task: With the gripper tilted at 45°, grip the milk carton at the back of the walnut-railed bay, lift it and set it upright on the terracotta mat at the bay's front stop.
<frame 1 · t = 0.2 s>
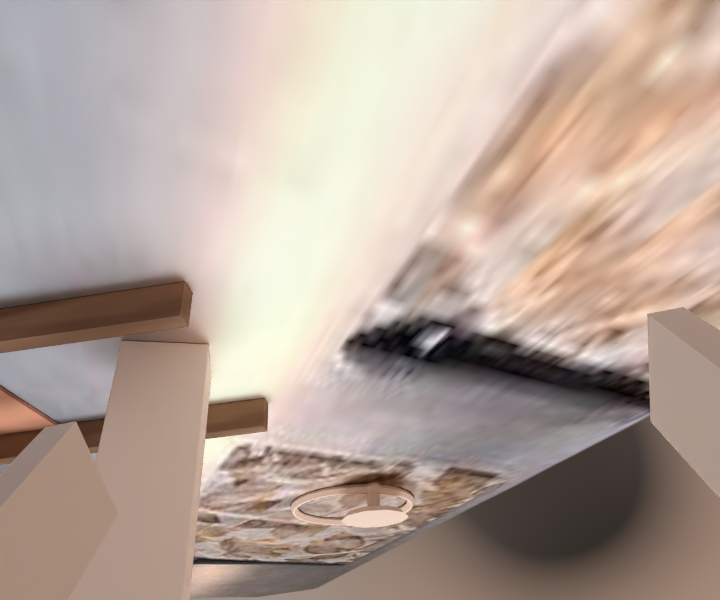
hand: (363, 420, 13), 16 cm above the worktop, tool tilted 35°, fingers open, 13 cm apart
milk: (169, 360, 41), on the worktop
bay: (31, 381, 42), on the worktop
hand towel holder: (356, 495, 74), on the worktop
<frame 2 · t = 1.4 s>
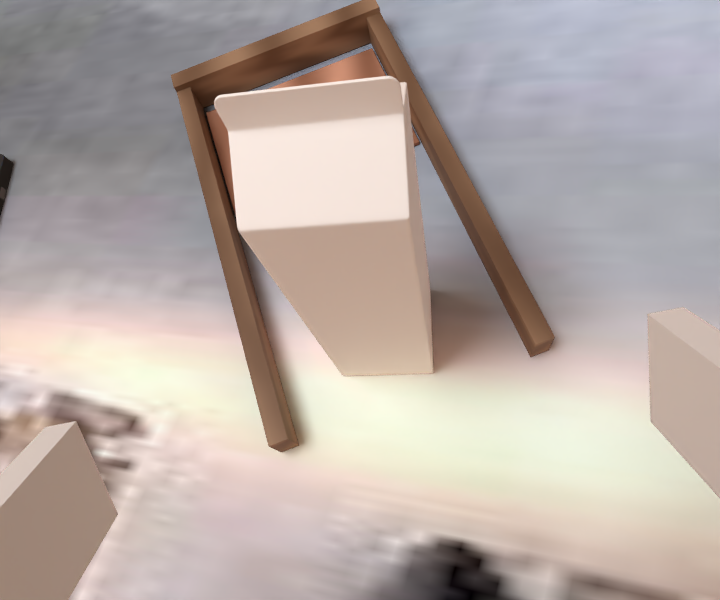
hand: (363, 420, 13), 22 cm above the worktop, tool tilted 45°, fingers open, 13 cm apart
milk: (387, 333, 37), on the worktop
bay: (337, 204, 41), on the worktop
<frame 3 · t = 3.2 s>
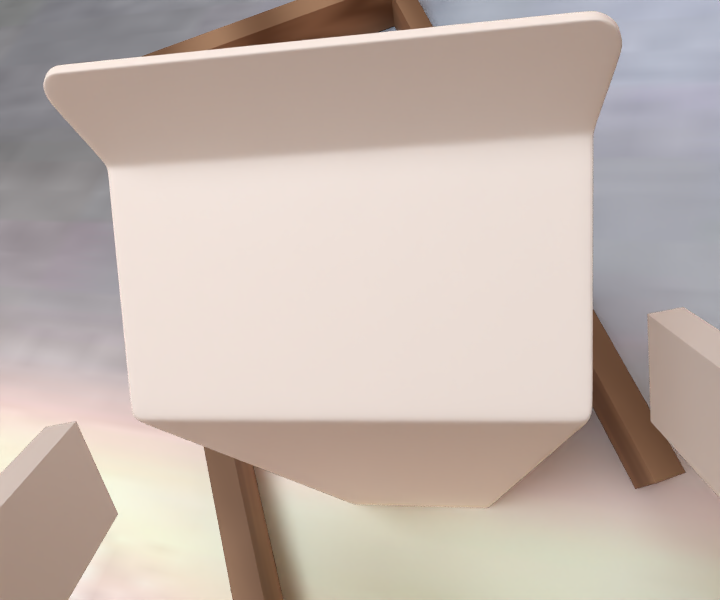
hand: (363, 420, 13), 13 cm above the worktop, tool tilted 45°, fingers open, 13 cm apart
milk: (419, 438, 25), on the worktop
bay: (348, 244, 30), on the worktop
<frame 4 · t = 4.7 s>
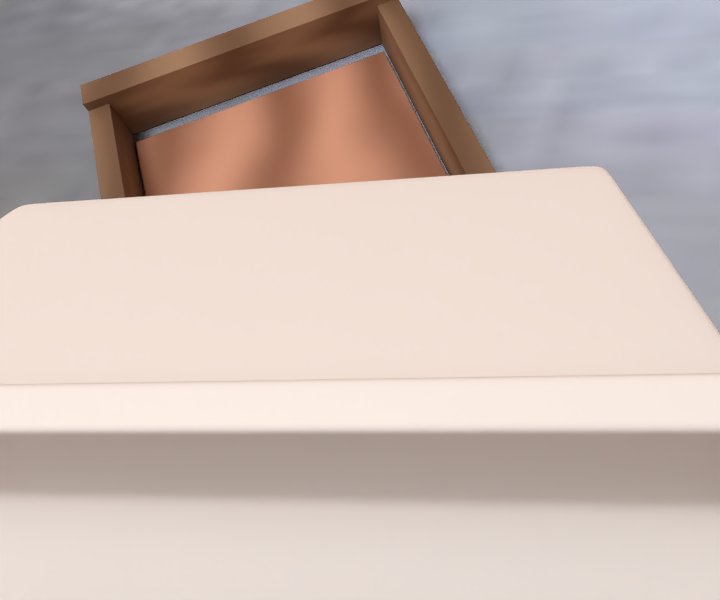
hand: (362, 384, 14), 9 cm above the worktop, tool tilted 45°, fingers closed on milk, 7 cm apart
milk: (410, 536, 21), on the worktop, touching gripper
bay: (328, 297, 26), on the worktop
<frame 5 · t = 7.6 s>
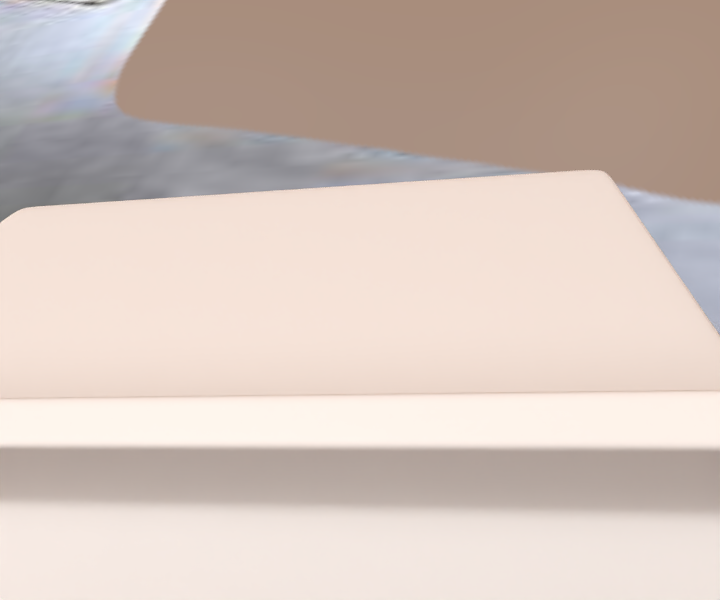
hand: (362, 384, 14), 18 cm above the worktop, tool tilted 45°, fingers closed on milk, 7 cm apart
milk: (410, 537, 21), point 9 cm above the worktop, touching gripper
when the fingers open (11 cm above the worktop, at t = 10.3 s): milk drops 1 cm, resting on bay.
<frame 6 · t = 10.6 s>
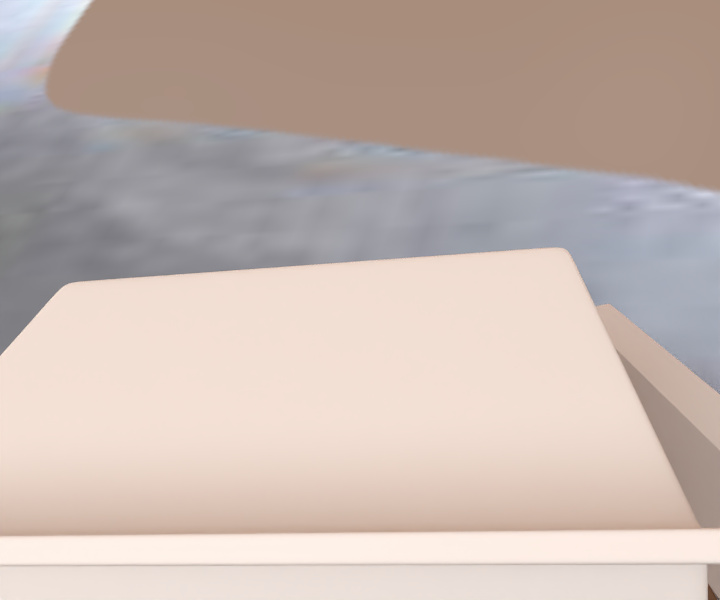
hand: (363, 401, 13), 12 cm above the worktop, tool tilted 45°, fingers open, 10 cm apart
milk: (408, 540, 22), resting on bay
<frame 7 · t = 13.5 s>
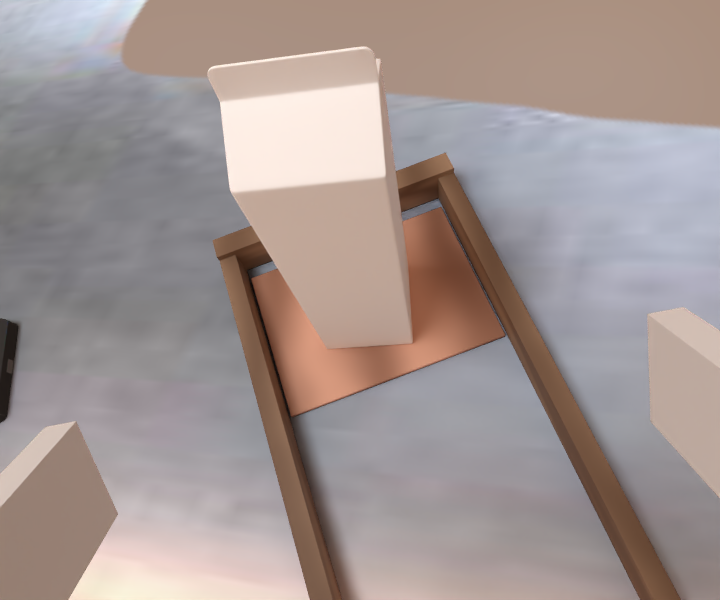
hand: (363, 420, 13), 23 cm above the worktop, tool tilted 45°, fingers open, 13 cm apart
milk: (368, 308, 39), resting on bay
bay: (412, 411, 35), on the worktop
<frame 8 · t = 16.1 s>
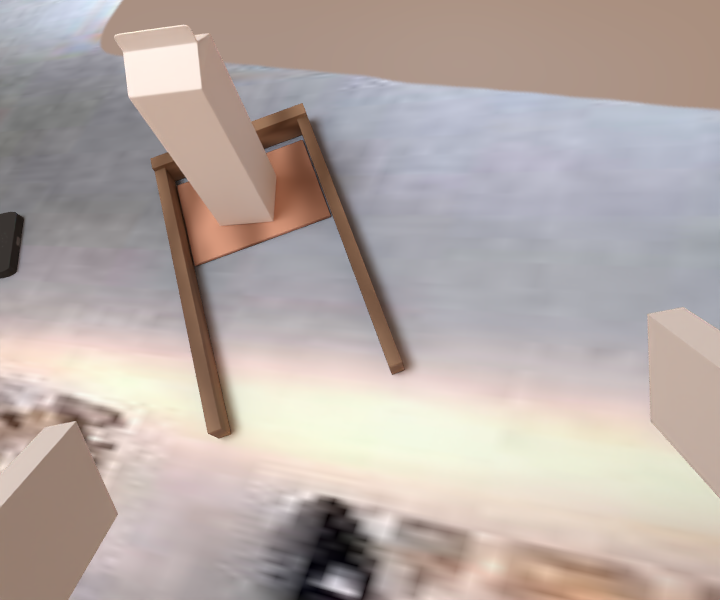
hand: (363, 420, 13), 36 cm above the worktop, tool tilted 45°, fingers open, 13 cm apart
milk: (249, 202, 60), resting on bay
bay: (269, 260, 57), on the worktop
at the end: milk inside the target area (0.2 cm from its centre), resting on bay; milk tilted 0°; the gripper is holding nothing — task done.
